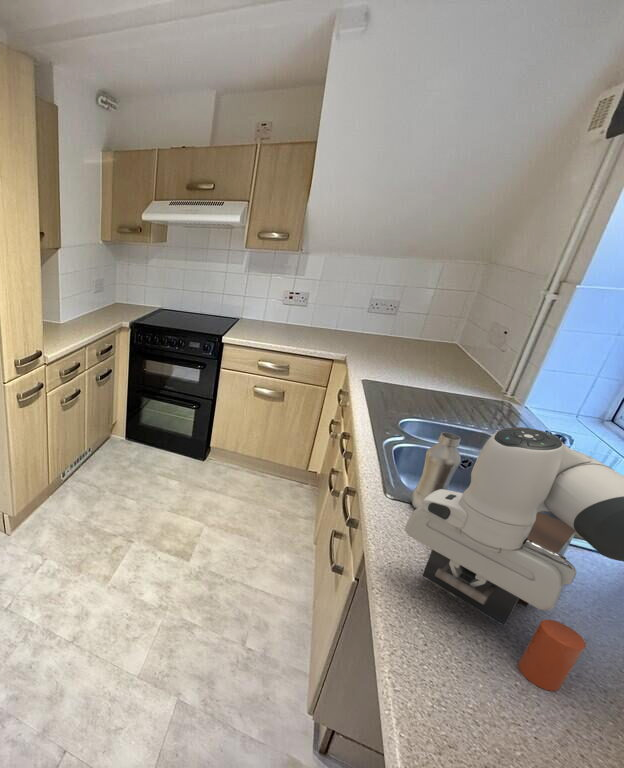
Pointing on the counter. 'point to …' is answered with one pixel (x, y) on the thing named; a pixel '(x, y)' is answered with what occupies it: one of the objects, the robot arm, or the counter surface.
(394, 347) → the counter surface
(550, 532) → the cabinet
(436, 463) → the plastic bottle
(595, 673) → the counter surface
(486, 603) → the drawer
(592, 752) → the counter surface
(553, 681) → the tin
